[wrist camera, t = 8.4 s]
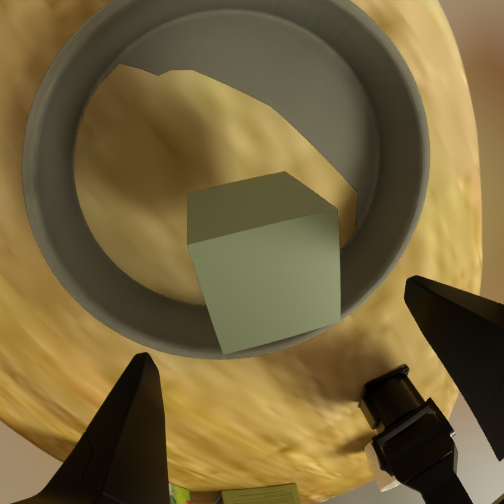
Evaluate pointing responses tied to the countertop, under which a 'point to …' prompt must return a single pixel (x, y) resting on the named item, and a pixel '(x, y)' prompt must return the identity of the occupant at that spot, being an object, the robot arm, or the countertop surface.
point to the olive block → (265, 259)
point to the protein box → (261, 495)
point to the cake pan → (261, 88)
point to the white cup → (379, 470)
